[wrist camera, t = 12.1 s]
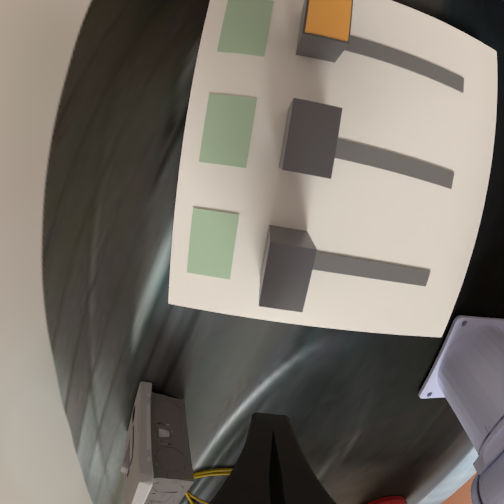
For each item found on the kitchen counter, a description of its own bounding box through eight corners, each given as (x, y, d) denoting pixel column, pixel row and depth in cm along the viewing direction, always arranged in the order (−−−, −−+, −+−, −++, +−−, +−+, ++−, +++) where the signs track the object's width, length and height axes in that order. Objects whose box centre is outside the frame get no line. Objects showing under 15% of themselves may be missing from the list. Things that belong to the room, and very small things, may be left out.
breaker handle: (339, 16, 12) (354, -11, 9) (334, 62, 13) (350, 42, 10) (302, 7, 12) (309, -21, 9) (295, 54, 13) (302, 31, 10)
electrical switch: (142, 374, 22) (112, 469, 13) (204, 394, 23) (196, 493, 14) (127, 434, 25) (106, 511, 16) (177, 450, 26) (167, 528, 17)
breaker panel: (480, 56, 14) (526, 41, 9) (429, 323, 20) (463, 364, 15) (222, -16, 14) (209, -62, 9) (176, 289, 20) (150, 332, 15)
